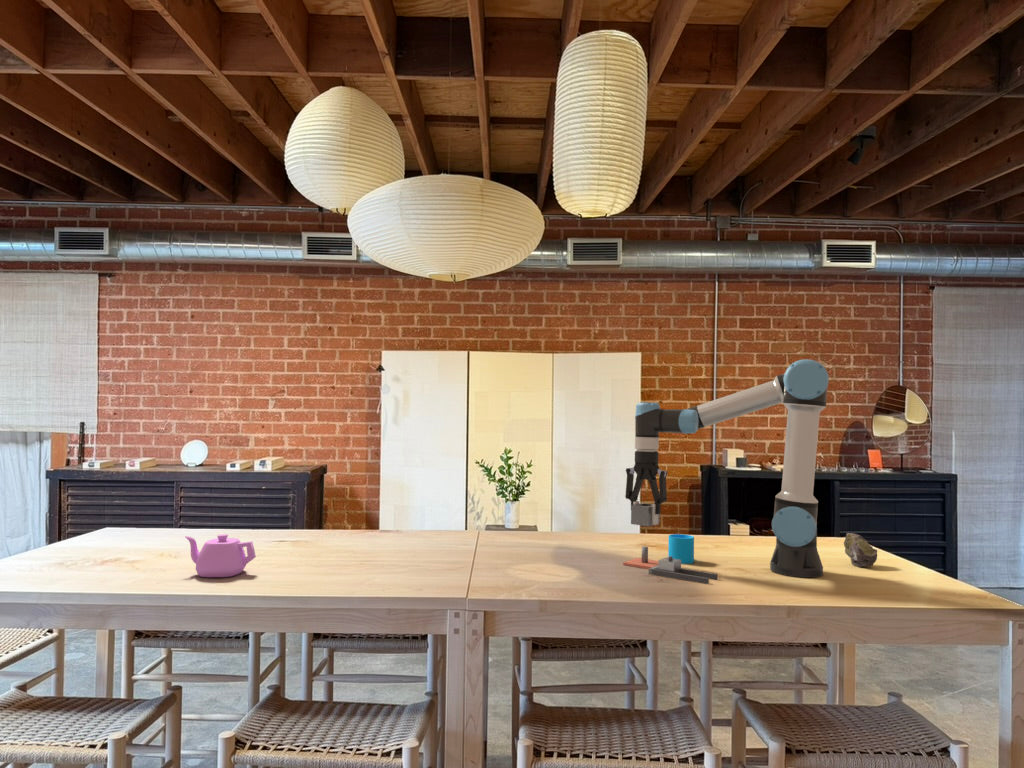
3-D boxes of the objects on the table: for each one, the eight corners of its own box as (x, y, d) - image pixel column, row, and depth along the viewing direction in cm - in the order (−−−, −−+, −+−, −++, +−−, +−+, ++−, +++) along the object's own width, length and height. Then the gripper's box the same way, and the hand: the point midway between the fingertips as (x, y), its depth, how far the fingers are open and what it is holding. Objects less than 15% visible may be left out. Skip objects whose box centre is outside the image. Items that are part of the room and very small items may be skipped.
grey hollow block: (659, 523, 219) (659, 504, 220) (648, 526, 213) (648, 507, 213) (642, 521, 223) (642, 502, 223) (630, 524, 217) (631, 505, 217)
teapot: (192, 568, 201) (194, 530, 202) (261, 569, 202) (263, 531, 203) (172, 579, 188) (174, 538, 189) (246, 579, 189) (248, 539, 190)
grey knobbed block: (681, 573, 205) (681, 556, 205) (674, 576, 201) (674, 559, 202) (665, 570, 208) (665, 554, 209) (658, 573, 204) (658, 556, 205)
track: (717, 579, 200) (717, 574, 200) (707, 584, 194) (707, 578, 194) (659, 569, 211) (659, 564, 211) (648, 573, 205) (648, 568, 205)
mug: (697, 564, 221) (697, 538, 221) (672, 564, 220) (673, 538, 220) (684, 556, 233) (685, 532, 233) (661, 556, 232) (661, 532, 232)
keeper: (666, 564, 218) (666, 546, 219) (652, 569, 211) (652, 551, 211) (637, 560, 225) (637, 542, 225) (623, 565, 217) (623, 547, 217)
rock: (835, 564, 223) (835, 534, 223) (848, 561, 229) (848, 531, 230) (870, 570, 215) (870, 539, 215) (882, 566, 221) (882, 535, 222)
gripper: (679, 451, 216) (678, 525, 215) (625, 448, 228) (624, 518, 227) (669, 452, 210) (667, 528, 209) (614, 449, 222) (613, 520, 221)
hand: (645, 522), depth 218 cm, fingers closed on grey hollow block, 6 cm apart
